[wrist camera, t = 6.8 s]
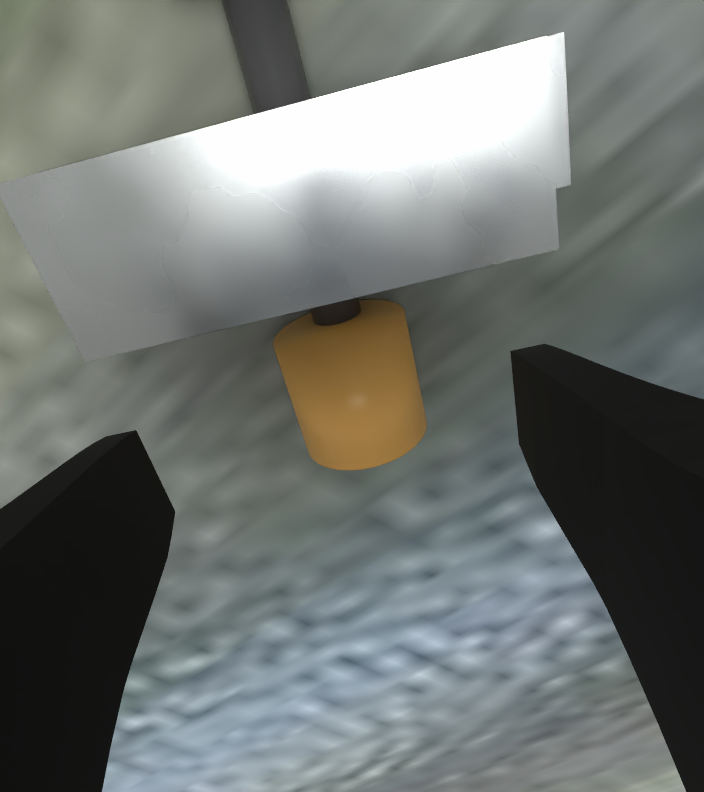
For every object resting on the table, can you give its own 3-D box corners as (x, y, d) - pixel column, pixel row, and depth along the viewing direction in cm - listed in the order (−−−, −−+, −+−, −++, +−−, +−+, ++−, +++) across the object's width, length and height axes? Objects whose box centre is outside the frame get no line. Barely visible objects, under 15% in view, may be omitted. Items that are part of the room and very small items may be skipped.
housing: (33, 175, 17) (-117, 214, 11) (554, 34, 16) (680, -1, 10) (92, 298, 19) (-11, 384, 13) (562, 181, 18) (672, 222, 12)
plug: (126, -157, 13) (53, -255, 10) (294, -208, 13) (284, -329, 9) (308, 415, 21) (306, 482, 17) (416, 390, 21) (437, 452, 17)
